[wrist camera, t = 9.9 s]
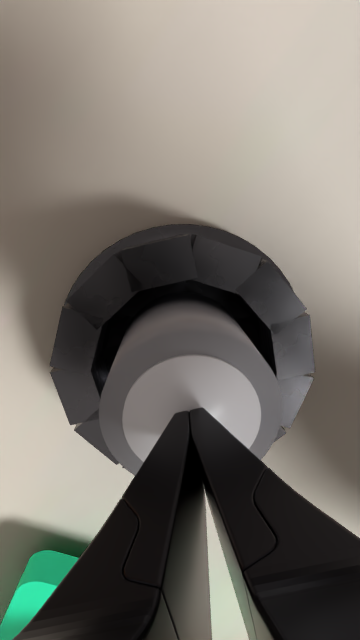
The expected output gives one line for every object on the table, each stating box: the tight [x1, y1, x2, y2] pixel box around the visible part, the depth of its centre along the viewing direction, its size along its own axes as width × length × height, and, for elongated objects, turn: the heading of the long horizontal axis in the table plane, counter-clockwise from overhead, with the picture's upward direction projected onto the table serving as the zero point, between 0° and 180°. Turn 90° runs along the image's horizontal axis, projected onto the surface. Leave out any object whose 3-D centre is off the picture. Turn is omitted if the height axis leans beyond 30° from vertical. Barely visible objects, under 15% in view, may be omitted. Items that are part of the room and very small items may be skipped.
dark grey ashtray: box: [50, 224, 315, 468], centre depth 13 cm, size 11×11×3 cm
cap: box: [99, 292, 283, 475], centre depth 11 cm, size 5×5×5 cm
